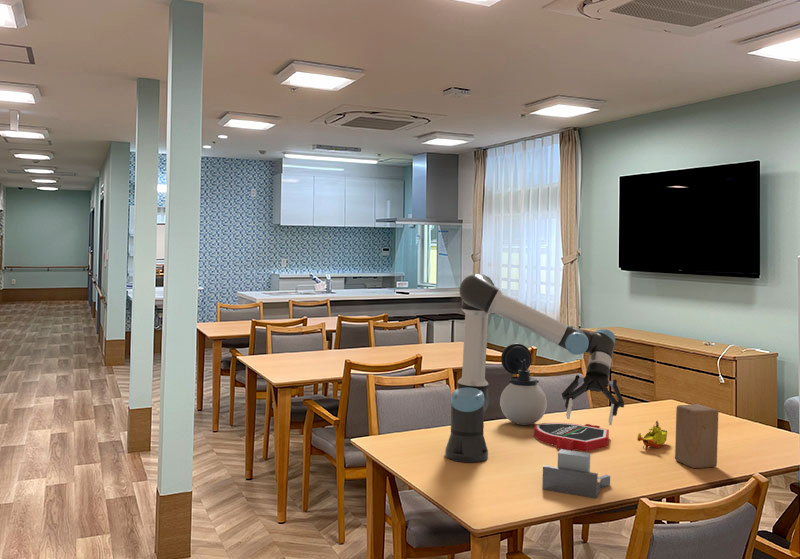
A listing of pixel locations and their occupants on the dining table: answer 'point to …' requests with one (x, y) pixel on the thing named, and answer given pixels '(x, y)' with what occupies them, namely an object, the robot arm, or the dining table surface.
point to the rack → (573, 481)
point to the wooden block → (696, 435)
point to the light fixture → (521, 388)
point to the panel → (574, 460)
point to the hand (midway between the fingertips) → (588, 419)
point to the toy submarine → (654, 437)
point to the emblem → (572, 436)
